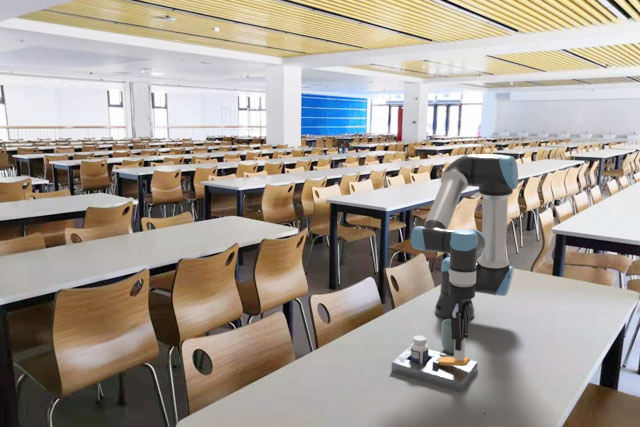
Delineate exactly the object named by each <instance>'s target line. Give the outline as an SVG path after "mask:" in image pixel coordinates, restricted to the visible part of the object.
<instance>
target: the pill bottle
mask: <svg viewBox="0 0 640 427" xmlns="http://www.w3.org/2000/svg"><path fill="white" fill-rule="evenodd" d="M412 342H413V343H411V345H410V346H411V361H414V362H417V363H421V364H424V365H426V364H427V363H428V349H429V345H428V344H427V338H426V336H423V335H415V336H413V341H412Z"/></svg>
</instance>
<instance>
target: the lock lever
mask: <svg viewBox="0 0 640 427" xmlns="http://www.w3.org/2000/svg"><path fill="white" fill-rule="evenodd" d="M470 360H471V359H470V357H465V356H464V360H463V361H461V360H457V359H454V357H442V356H440V357H439V358H438V359H437V360H436V361H439V365H450V366H466V365H467V364H468V363H469V361H470Z"/></svg>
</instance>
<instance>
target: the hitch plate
mask: <svg viewBox="0 0 640 427" xmlns="http://www.w3.org/2000/svg"><path fill="white" fill-rule="evenodd" d="M440 356H442V357H454V354H450V353H447V352H446V353H445V352H441V351H437V350H434V349H430V348H428V363H427V364H426V365H424V364H421V363H417V362H414V361H411V345H410V346H409V347H407V348H406V349H405V350H404V351H403V352H402V353H401V354H400V355H398V356H397V357H396V358H394V360H393V361H392V362H391V372H392V373H396V374H400V375H403V376H406V377H409V378H412V379H416V380H420V381H423V382H426V383H430V384H434V385H436V386H440V387H442V388H446V389H450V390H452V391H457V392H460V393H462V391H463V390H464V389H465V387H466V386H467V385H468V384H469V382H470V381H471V380H472V378H473V377H474V375H475V374H476V373H477V372H478V361H475V360H471V359H470V361H469V363H468V364H467V365H466V366H450V365H439V361H436V360H437V359H438V358H439V357H440Z"/></svg>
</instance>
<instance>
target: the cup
mask: <svg viewBox="0 0 640 427" xmlns="http://www.w3.org/2000/svg"><path fill="white" fill-rule="evenodd" d="M440 332H441V333H440V334H441V338H440V339H441V345H442V348H443V351H445V352H446V353H447V354H450V355H454V340H455V339H452V338H451V337H452V330H451V319H446V318H445V319H444V320H442V322H441V330H440ZM466 339H467V338H465V340H466Z"/></svg>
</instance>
